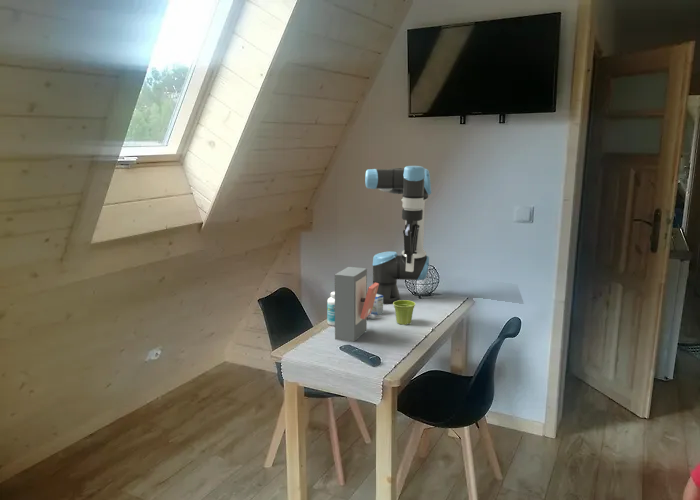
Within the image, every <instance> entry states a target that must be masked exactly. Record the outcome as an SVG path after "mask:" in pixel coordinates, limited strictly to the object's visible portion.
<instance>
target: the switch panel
mask: <svg viewBox="0 0 700 500" xmlns="http://www.w3.org/2000/svg"><path fill="white" fill-rule="evenodd" d="M367 281H368V269H367V268H366V267H365V268H364V267H354V266H347V267H345V268H344V269H342V270H340V271H338V272H337V273H335V274H334V292H335V326H334V339H335V340H337V341H345V342H352V343H354V342H356V341H357V340H358V339H359V338H360V337H361V336H363V334H364V333H365V332H367V329H368V325H367V323H368V321H367V320H368V317H366V318H365V319H362V318H360V317H361V313H362V309H363V306H364V302H365V298H366V295H367V291H368V284H367V283H368V282H367Z"/></svg>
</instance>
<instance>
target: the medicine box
mask: <svg viewBox="0 0 700 500" xmlns="http://www.w3.org/2000/svg"><path fill="white" fill-rule="evenodd" d="M382 314H384V304H383V295H380V294H376V297H375V301H374V304H373V308H372V311H371V314H370V315H374V316H380V315H382Z"/></svg>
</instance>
